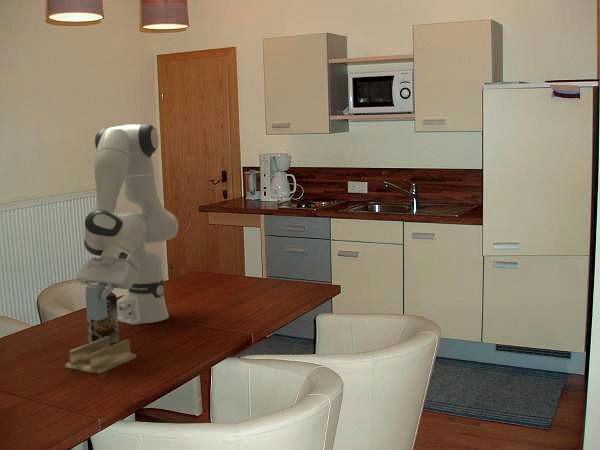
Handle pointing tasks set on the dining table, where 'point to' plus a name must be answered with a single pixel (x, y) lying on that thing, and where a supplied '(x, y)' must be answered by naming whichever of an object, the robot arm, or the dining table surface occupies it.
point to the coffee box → (105, 322)
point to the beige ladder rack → (100, 355)
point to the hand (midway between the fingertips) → (94, 297)
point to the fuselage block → (96, 302)
